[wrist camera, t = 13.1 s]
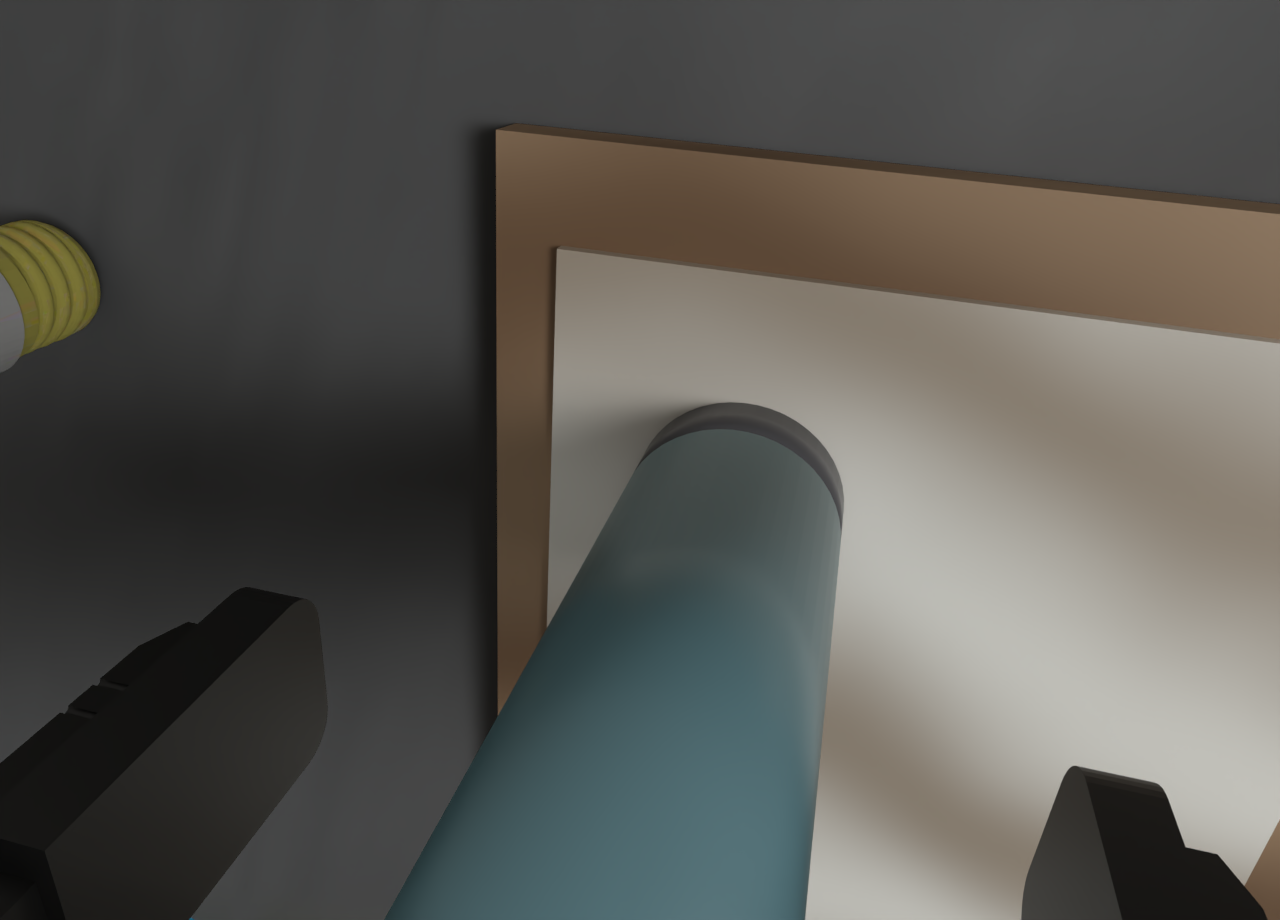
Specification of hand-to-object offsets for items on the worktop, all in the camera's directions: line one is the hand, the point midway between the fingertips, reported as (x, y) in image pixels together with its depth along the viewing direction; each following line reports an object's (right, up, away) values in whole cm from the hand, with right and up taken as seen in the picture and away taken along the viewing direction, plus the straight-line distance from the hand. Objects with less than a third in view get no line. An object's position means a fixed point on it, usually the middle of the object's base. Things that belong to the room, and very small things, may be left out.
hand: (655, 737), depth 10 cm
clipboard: (+4, -2, +7) cm, 8 cm away
